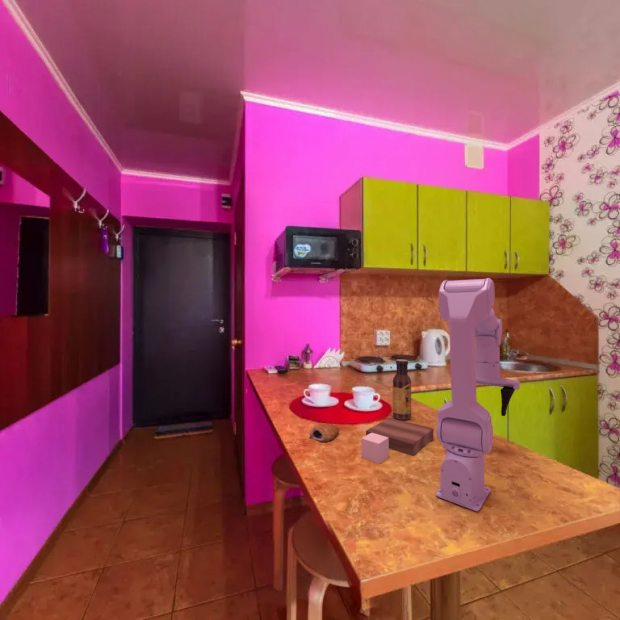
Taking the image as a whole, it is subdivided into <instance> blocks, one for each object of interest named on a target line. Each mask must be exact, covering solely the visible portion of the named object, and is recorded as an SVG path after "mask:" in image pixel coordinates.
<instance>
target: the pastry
mask: <svg viewBox="0 0 620 620" xmlns="http://www.w3.org/2000/svg"><path fill="white" fill-rule="evenodd" d="M339 434H340V428H339V427H338V426H336V425H335V424H332V423H330V424H329V423H320V424H318V425H314V427H313V428H312V429H311V430H310V433H309V437H310V438H311V439H312V440H315V441H319V442H322V443H324V442H326V443H328V442H330V441H331V440H335V438H337V436H338V435H339Z"/></svg>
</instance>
